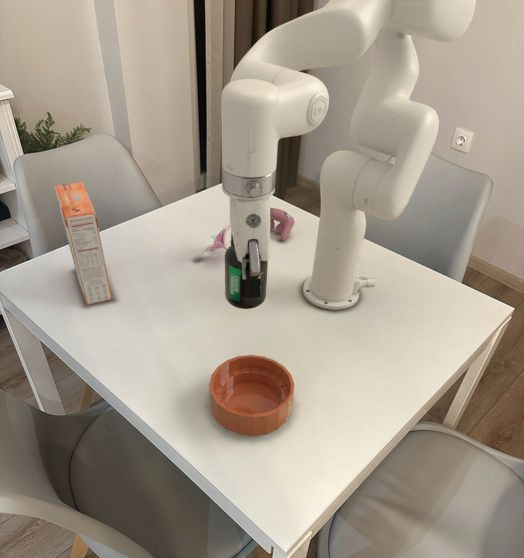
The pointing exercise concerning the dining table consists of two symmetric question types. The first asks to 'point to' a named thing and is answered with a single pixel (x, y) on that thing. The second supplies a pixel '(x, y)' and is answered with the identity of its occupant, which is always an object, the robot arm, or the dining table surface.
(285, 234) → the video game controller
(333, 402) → the dining table surface
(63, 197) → the cracker box
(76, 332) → the dining table surface
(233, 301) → the supplement bottle
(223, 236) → the lily
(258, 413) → the bowl
